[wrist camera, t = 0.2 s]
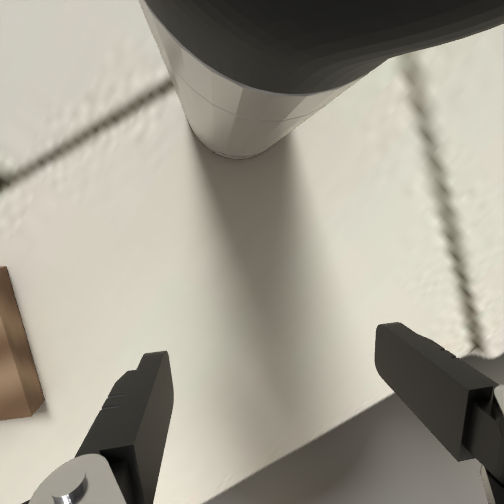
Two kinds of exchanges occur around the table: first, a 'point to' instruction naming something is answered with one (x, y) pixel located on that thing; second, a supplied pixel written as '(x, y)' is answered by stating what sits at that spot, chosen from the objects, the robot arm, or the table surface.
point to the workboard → (15, 360)
